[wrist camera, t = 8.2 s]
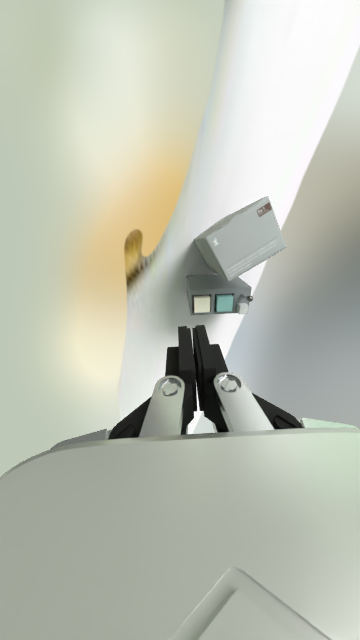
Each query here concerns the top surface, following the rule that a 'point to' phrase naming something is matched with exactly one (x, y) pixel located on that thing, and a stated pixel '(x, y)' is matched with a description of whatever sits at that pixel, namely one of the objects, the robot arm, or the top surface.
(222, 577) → the robot arm
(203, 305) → the cream button
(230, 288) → the panel
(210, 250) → the skincare box
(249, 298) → the metal lever
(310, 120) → the top surface
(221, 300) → the teal button
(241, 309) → the grey button
